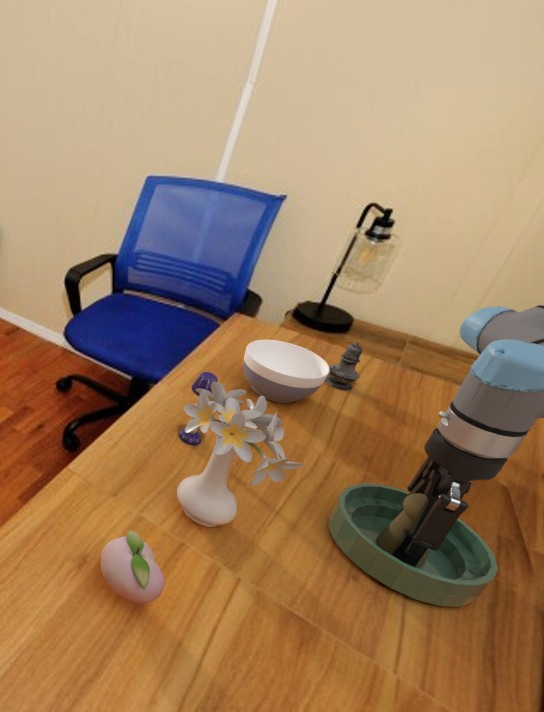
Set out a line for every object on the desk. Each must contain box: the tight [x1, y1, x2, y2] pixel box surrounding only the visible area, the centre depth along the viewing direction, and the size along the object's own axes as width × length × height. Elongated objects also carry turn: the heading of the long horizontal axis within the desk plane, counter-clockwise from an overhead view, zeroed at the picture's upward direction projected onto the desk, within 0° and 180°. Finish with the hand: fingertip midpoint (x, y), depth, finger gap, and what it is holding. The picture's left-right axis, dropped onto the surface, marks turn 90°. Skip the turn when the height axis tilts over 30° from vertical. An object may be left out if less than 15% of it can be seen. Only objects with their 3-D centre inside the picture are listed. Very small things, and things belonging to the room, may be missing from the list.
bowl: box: [242, 339, 330, 404], centre depth 119 cm, size 16×16×10 cm
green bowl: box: [327, 482, 499, 608], centre depth 81 cm, size 18×18×6 cm
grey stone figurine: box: [324, 341, 364, 391], centre depth 120 cm, size 6×6×12 cm
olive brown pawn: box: [377, 493, 430, 567], centre depth 80 cm, size 6×6×11 cm
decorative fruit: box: [100, 529, 165, 605], centre depth 76 cm, size 9×8×10 cm
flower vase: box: [176, 381, 305, 528], centre depth 84 cm, size 13×18×25 cm
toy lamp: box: [178, 371, 219, 446], centre depth 103 cm, size 5×5×17 cm
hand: (400, 548), depth 82 cm, fingers closed on olive brown pawn, 6 cm apart
